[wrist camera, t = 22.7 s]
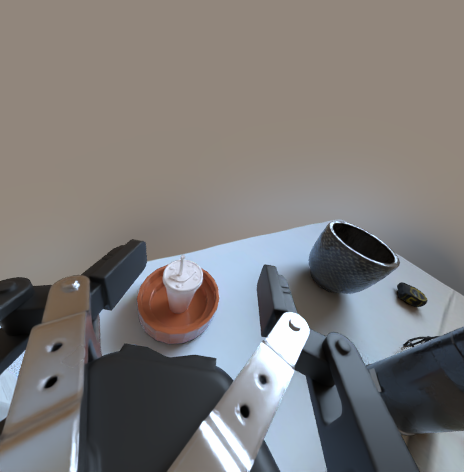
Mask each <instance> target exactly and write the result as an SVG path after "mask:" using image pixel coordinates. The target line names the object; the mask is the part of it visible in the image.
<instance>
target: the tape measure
mask: <svg viewBox="0 0 464 472" xmlns="http://www.w3.org/2000/svg"><path fill="white" fill-rule="evenodd" d="M397 288H398V292H399V298H400V299H402V300H405V301H406V302H407V303H408V304H410V305H412V306H415V307H421V306H423V305H425V304H426V303H427V298H426V297H425V295H424V294H423V293H422V292H421V291H419V290H418V289H416V288H415V287H412V286H410V285H408V284H405V283H399V284H398V285H397Z"/></svg>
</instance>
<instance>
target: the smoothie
mask: <svg viewBox="0 0 464 472" xmlns="http://www.w3.org/2000/svg"><path fill="white" fill-rule="evenodd" d="M202 280H203V272H202V269H201V268H200V266H199V265H197V264H196V263H195V262H192V261H189V260H185V255H181V260H177V261H174V262H172V263H170V264H169V265H168V266H167V267H166V268H165V270H164V273H163V283H164V285H165V287H166V290H167V296H168V302H169V308H170V310H171V311H172V312H174V313H177V314H179V313H183V312H185V311H186V310H187V308H188V306H189V304H190V302H191V300H192V298H193V296H194V294H195V292H196V290H197V289H198V288H199V287H200V285H201V283H202Z"/></svg>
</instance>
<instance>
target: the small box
mask: <svg viewBox="0 0 464 472" xmlns="http://www.w3.org/2000/svg"><path fill="white" fill-rule="evenodd" d="M17 379H18V378H17V376H16V374H15V373H14V372H12V371H11V370H9V369H6V370H5V371H4V372H3V373H2V374H1V375H0V421H1V420H3V419H4V418H6V417H7V414H8V411H9V407H10V404H11V400H12V397H13V393H14V389H15V386H16V382H17Z"/></svg>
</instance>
